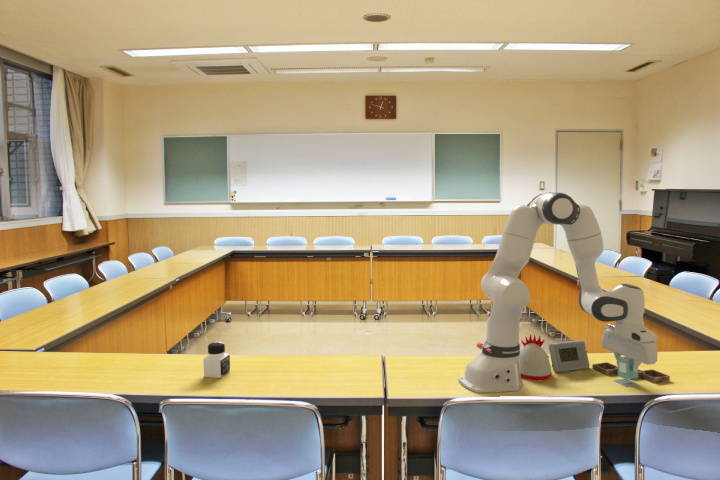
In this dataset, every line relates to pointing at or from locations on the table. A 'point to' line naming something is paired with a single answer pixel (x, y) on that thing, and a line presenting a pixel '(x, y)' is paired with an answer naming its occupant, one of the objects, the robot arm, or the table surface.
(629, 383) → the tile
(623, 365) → the teal rectangular block
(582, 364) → the digital clock
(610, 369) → the box
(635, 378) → the box
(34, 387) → the table surface
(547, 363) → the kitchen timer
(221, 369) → the medicine bottle
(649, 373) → the box
